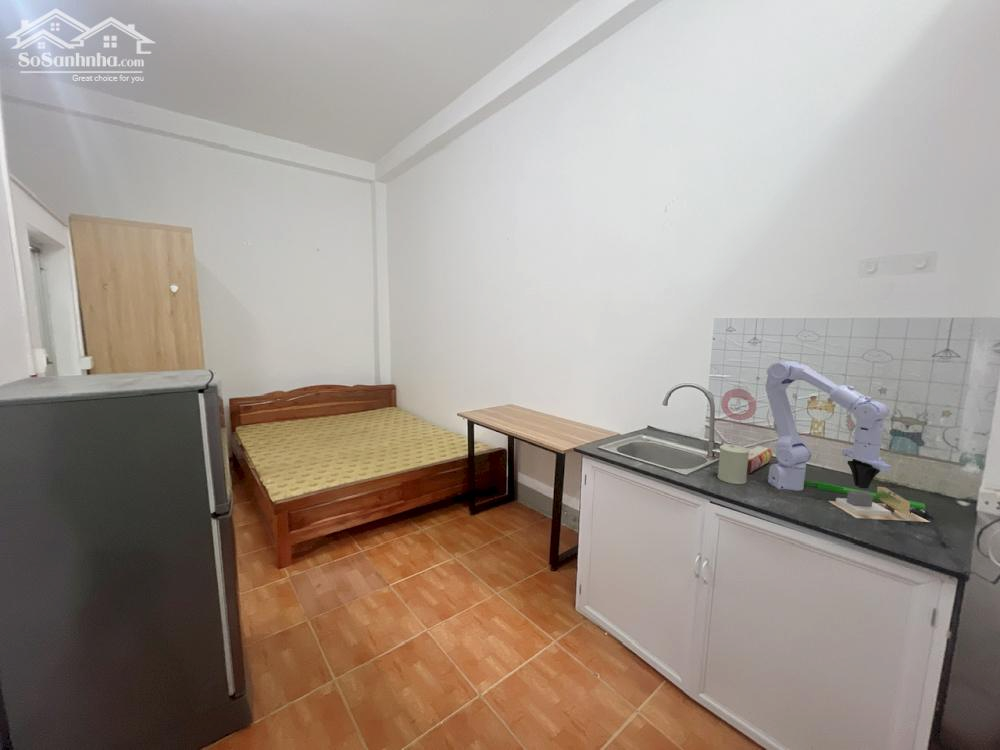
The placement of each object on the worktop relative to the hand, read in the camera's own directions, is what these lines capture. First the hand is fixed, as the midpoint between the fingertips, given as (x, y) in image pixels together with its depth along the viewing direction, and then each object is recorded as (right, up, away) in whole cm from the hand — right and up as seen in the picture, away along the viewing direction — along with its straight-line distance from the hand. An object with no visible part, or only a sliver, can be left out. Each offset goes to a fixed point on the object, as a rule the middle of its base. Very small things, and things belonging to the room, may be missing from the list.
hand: (861, 486), depth 115 cm
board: (+4, -9, 0) cm, 10 cm away
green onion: (+8, -7, +11) cm, 16 cm away
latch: (+8, -5, -1) cm, 10 cm away
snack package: (-6, -4, +40) cm, 41 cm away
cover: (+1, -7, +1) cm, 7 cm away
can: (-22, -5, +27) cm, 35 cm away
